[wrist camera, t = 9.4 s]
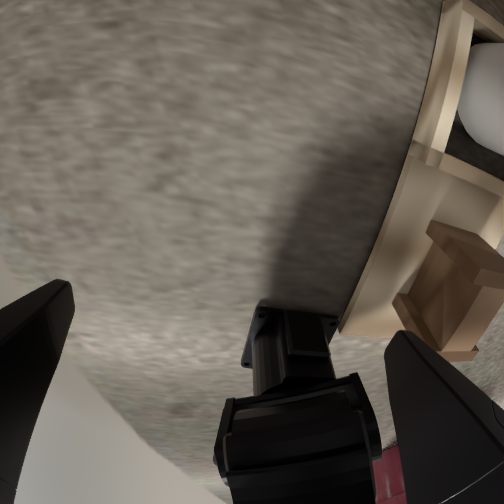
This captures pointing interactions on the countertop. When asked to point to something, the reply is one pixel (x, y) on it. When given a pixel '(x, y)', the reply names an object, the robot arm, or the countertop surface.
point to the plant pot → (389, 478)
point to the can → (484, 96)
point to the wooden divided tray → (438, 220)
